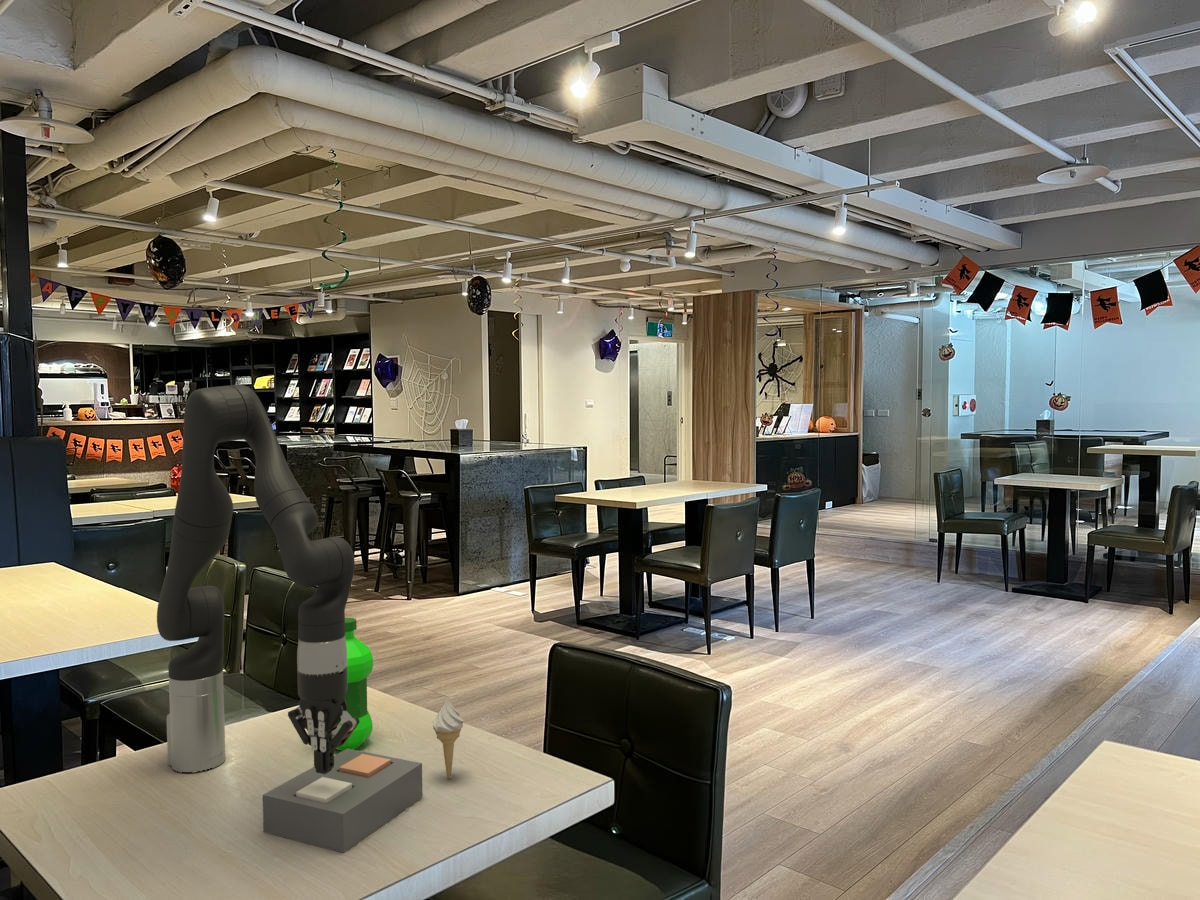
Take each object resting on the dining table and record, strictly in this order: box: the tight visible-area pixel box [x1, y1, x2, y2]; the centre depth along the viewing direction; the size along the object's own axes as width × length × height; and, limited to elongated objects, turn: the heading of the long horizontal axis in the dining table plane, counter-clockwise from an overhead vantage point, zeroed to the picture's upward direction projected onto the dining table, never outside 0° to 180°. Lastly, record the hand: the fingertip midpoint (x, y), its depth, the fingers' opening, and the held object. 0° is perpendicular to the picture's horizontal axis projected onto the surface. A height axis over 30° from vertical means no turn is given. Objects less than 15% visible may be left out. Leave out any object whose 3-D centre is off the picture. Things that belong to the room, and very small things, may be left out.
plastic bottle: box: [328, 617, 374, 752], centre depth 172 cm, size 10×10×25 cm
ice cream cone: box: [431, 696, 465, 780], centre depth 157 cm, size 6×6×15 cm
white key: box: [296, 777, 352, 804], centre depth 139 cm, size 6×6×3 cm
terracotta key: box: [339, 754, 391, 778], centre depth 148 cm, size 6×6×3 cm
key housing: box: [261, 748, 423, 854], centre depth 144 cm, size 16×20×6 cm
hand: (324, 771), depth 139 cm, fingers closed
